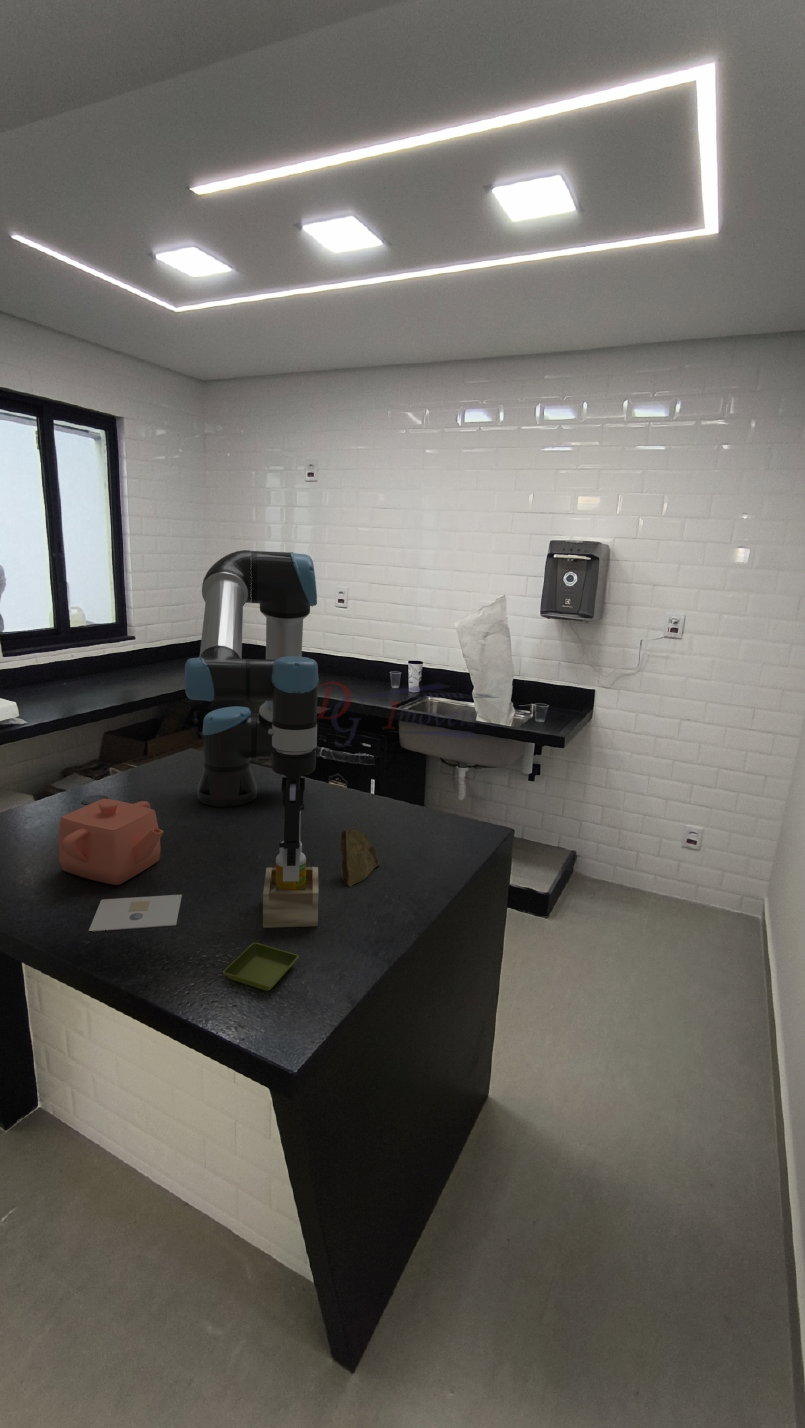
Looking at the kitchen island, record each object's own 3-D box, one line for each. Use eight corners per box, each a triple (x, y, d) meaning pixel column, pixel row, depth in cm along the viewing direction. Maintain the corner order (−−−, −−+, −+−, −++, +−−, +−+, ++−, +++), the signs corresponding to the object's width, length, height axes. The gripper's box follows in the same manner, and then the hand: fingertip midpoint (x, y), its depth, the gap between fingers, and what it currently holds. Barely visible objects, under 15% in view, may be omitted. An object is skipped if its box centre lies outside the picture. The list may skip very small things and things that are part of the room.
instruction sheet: (101, 900, 118) (101, 899, 118) (181, 895, 121) (181, 894, 121) (88, 931, 108) (88, 930, 108) (176, 925, 111) (176, 924, 111)
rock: (371, 845, 141) (329, 846, 136) (387, 826, 135) (343, 826, 130) (383, 892, 134) (339, 895, 130) (400, 873, 129) (354, 876, 124)
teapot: (36, 883, 122) (30, 816, 118) (122, 838, 142) (119, 779, 139) (120, 908, 116) (116, 837, 112) (197, 857, 136) (196, 795, 132)
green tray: (221, 983, 98) (221, 971, 98) (253, 952, 106) (253, 941, 106) (270, 999, 95) (270, 987, 95) (300, 966, 103) (300, 955, 103)
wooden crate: (266, 898, 121) (266, 867, 120) (317, 897, 123) (317, 866, 121) (262, 927, 112) (263, 894, 111) (317, 926, 114) (318, 893, 112)
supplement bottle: (299, 902, 114) (299, 851, 112) (271, 898, 115) (270, 847, 113) (310, 889, 119) (310, 839, 117) (283, 885, 120) (282, 836, 118)
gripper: (275, 727, 121) (274, 831, 126) (267, 773, 97) (266, 898, 103) (315, 728, 122) (312, 831, 128) (317, 773, 98) (313, 897, 104)
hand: (292, 861), depth 115 cm, fingers open, 13 cm apart
